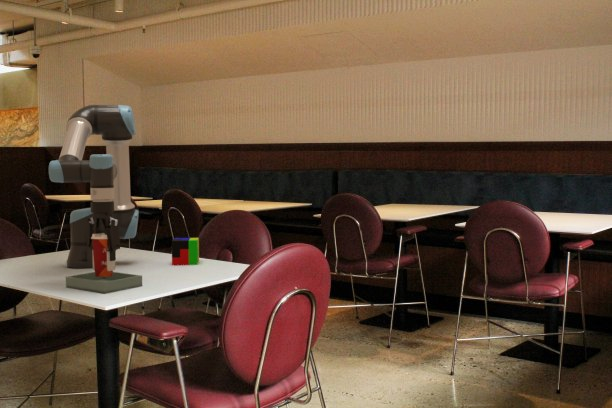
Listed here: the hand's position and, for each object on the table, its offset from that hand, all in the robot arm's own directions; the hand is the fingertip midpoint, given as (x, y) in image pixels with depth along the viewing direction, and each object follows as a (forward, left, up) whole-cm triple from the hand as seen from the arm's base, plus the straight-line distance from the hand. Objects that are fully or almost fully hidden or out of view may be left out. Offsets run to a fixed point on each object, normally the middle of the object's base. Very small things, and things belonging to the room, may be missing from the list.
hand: (103, 269), depth 228 cm
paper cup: (0, 0, -2) cm, 2 cm away
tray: (0, 0, -6) cm, 6 cm away
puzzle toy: (-13, +52, -6) cm, 54 cm away
